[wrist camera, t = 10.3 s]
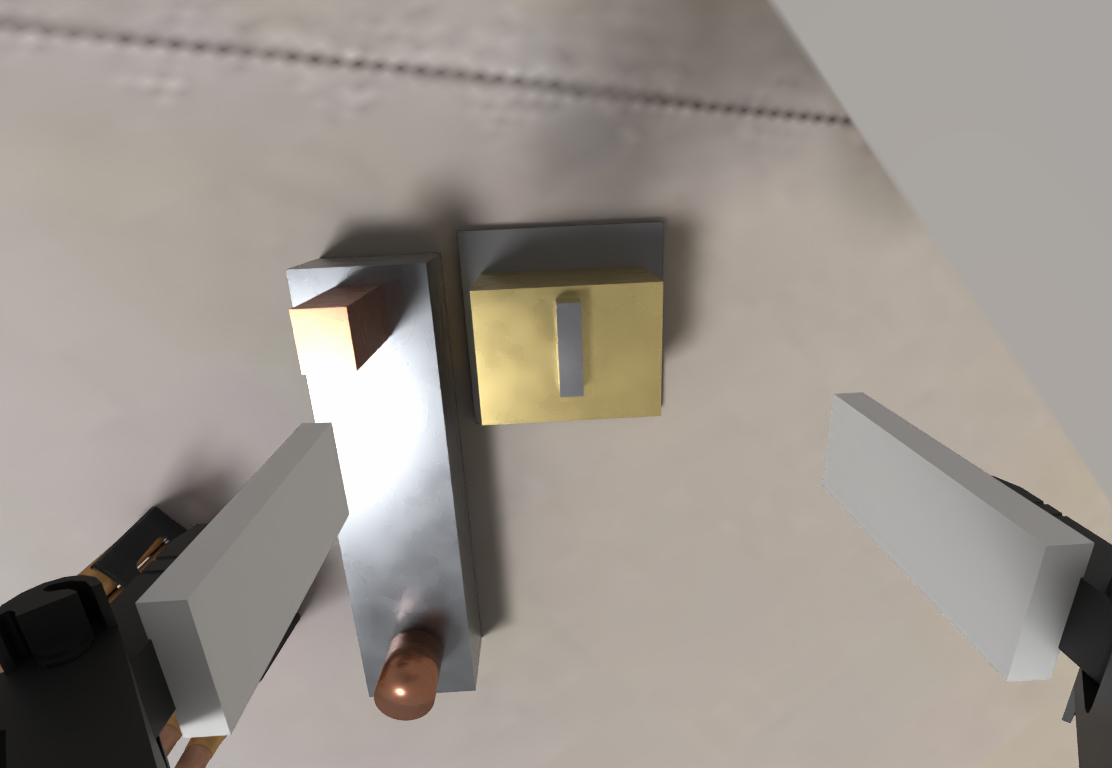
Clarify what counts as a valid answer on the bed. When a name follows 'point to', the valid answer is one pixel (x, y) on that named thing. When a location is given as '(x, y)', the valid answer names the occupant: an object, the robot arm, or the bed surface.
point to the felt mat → (552, 258)
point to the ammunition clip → (121, 570)
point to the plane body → (394, 468)
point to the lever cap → (568, 344)
